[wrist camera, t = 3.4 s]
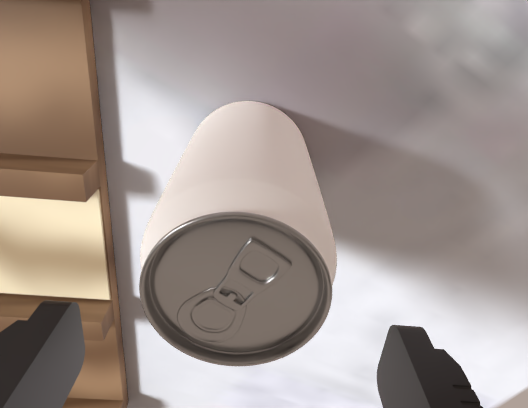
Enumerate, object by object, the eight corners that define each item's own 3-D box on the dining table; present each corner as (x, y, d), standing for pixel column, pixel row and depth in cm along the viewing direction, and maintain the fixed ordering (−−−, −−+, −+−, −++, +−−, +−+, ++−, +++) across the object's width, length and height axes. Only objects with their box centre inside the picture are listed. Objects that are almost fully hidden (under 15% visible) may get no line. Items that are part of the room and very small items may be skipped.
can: (168, 167, 23) (84, 315, 12) (234, 72, 20) (204, 149, 10) (260, 227, 24) (258, 402, 14) (330, 146, 22) (394, 280, 11)
